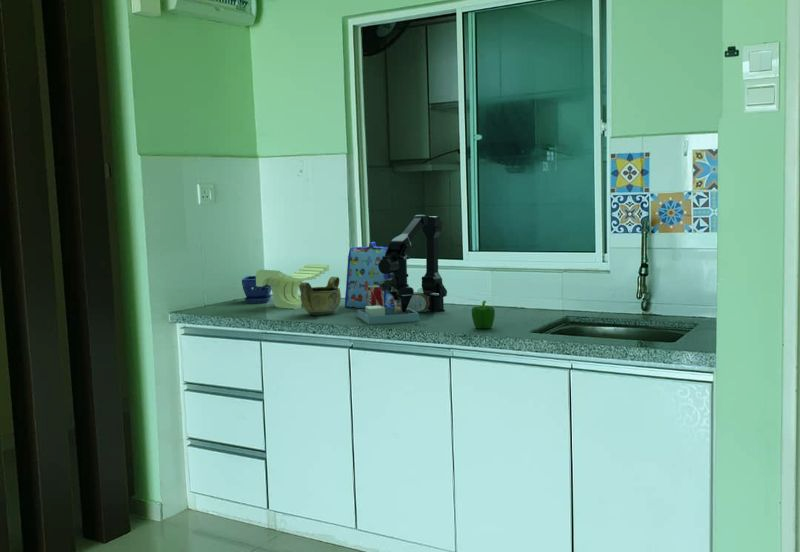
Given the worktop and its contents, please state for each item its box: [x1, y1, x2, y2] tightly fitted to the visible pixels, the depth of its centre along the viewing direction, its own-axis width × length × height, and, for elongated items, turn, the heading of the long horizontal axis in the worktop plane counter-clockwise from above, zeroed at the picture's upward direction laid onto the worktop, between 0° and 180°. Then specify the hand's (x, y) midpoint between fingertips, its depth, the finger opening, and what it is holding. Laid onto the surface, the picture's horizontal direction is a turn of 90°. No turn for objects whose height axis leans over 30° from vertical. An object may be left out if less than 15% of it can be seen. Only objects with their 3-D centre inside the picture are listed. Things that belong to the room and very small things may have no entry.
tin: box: [407, 291, 430, 313], centre depth 347 cm, size 15×3×8 cm, turn 69°
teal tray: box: [356, 307, 420, 325], centre depth 327 cm, size 20×20×4 cm
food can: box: [394, 300, 408, 315], centre depth 328 cm, size 5×5×7 cm
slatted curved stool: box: [255, 263, 330, 310], centre depth 375 cm, size 30×16×18 cm, turn 139°
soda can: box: [367, 285, 384, 307], centre depth 342 cm, size 7×7×12 cm
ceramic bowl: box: [298, 276, 342, 317], centre depth 346 cm, size 22×17×15 cm
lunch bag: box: [344, 241, 394, 309], centre depth 364 cm, size 22×14×29 cm, turn 58°
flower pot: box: [241, 275, 272, 304], centre depth 393 cm, size 13×13×12 cm
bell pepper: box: [471, 300, 496, 330], centre depth 302 cm, size 8×8×10 cm
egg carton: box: [364, 305, 385, 316], centre depth 326 cm, size 6×8×5 cm
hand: (400, 310), depth 328 cm, fingers open, 9 cm apart
